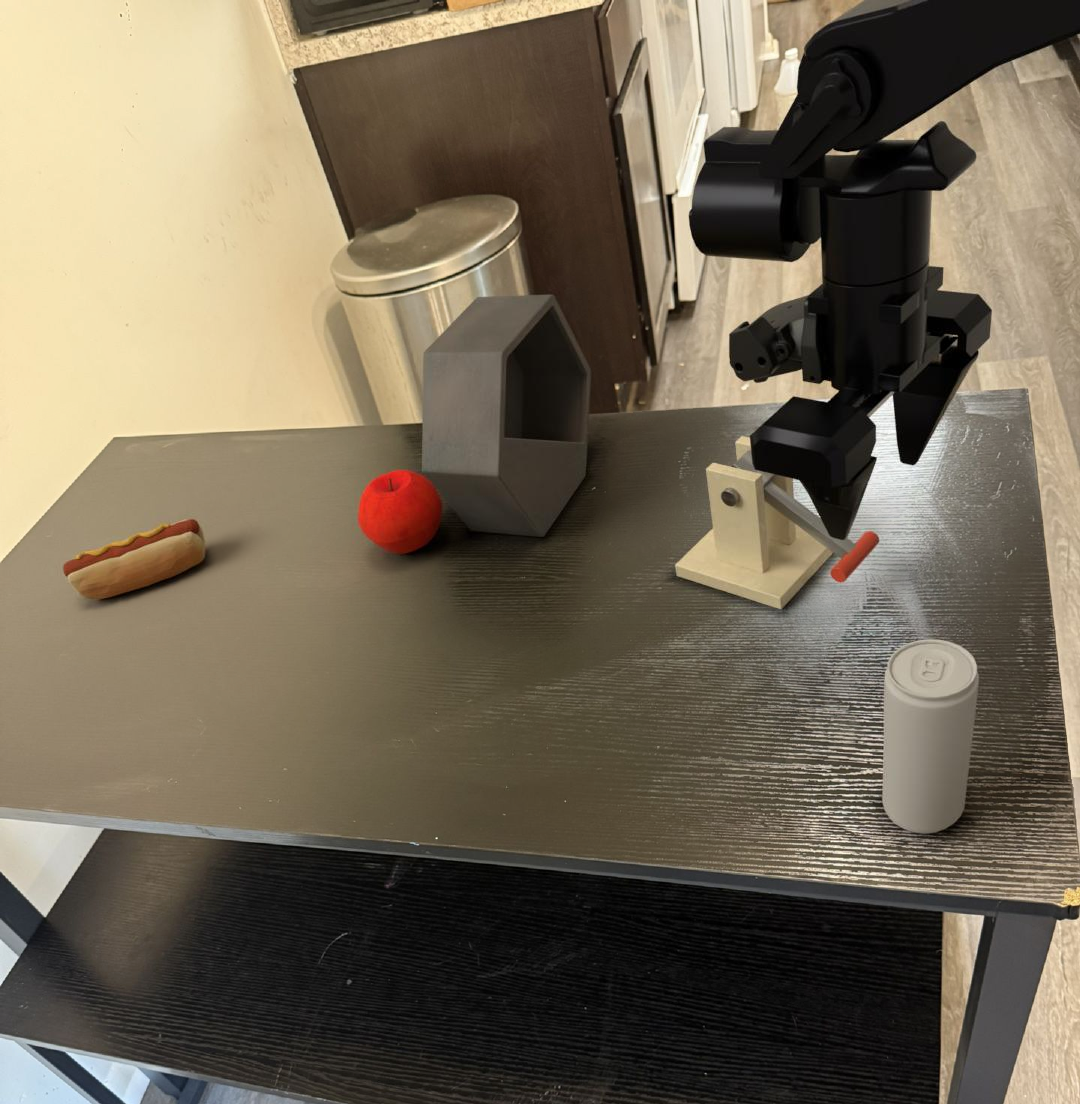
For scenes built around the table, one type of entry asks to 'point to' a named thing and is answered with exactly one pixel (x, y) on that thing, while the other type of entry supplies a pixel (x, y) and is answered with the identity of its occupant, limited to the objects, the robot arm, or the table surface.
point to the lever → (813, 524)
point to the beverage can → (928, 733)
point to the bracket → (751, 540)
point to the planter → (506, 414)
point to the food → (137, 560)
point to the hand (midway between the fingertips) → (874, 499)
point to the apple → (400, 511)
